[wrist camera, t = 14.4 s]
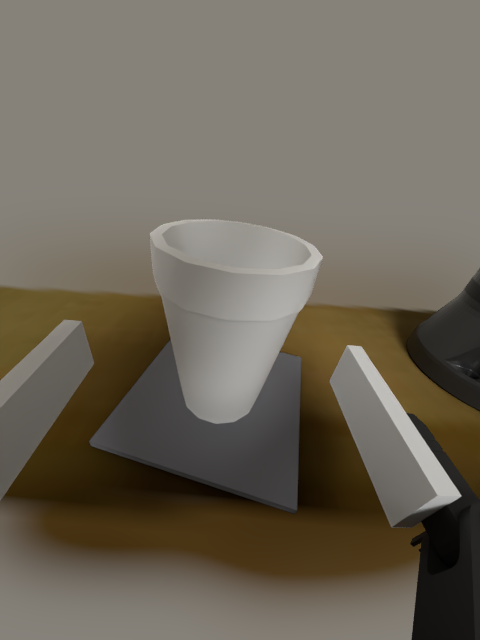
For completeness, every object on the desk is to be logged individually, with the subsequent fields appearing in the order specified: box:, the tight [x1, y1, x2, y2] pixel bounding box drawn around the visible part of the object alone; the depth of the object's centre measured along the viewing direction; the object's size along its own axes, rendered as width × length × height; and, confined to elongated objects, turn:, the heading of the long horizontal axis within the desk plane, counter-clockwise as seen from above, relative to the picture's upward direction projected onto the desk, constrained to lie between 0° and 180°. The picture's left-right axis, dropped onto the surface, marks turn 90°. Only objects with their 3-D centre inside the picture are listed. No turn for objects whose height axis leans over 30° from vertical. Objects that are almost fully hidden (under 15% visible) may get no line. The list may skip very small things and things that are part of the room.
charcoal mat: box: [89, 339, 301, 514], centre depth 21 cm, size 14×14×1 cm
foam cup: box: [150, 219, 323, 424], centre depth 17 cm, size 10×9×13 cm
